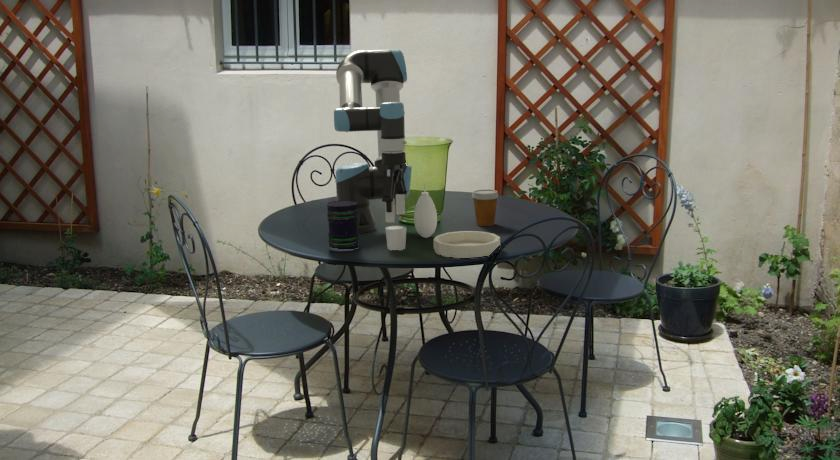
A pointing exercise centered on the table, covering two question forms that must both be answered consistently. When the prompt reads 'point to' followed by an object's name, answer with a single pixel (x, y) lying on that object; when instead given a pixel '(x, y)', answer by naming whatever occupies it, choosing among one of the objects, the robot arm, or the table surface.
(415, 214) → the sauce bottle
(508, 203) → the table surface
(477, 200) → the disposable coffee cup
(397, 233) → the shot glass
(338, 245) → the storage jar
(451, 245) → the cream bowl
